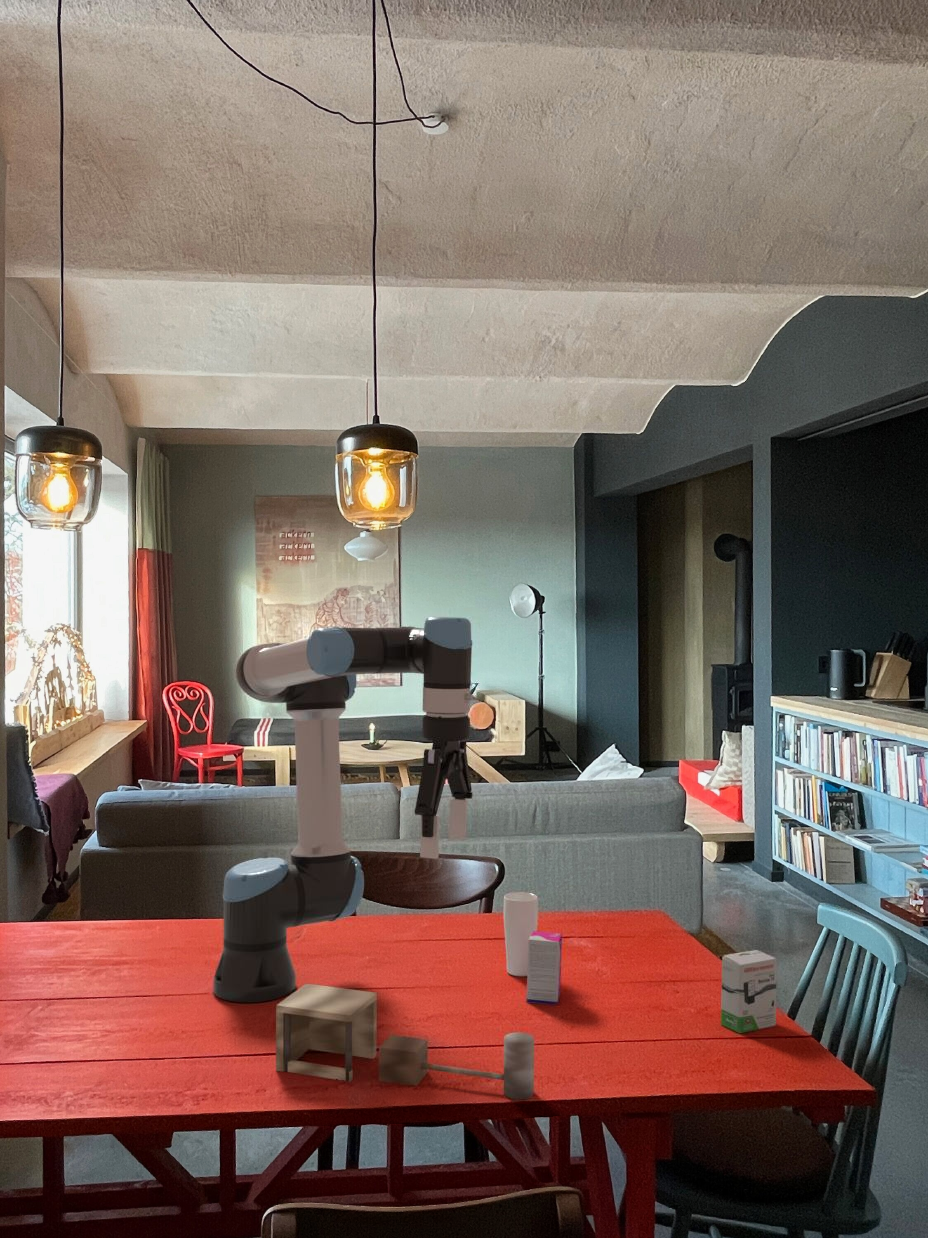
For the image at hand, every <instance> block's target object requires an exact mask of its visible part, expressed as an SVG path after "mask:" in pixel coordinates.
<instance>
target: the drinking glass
mask: <svg viewBox="0 0 928 1238" xmlns="http://www.w3.org/2000/svg"><path fill="white" fill-rule="evenodd" d="M538 898H539V897H538V896H537V895H536V894H534V893H530V892H523V891H522V892H519V891H517V892H509V893H506V894H505V895H504V896H503V926H504V927H503V928H504V929H503V931H504V941H505V955H506V971H507V973H508V974H509V975H511V976H514V977H527V975H528V943H529V938H530V936H531V933H532V932H533V931H537V930H538V920H539V903H538V901H539V899H538Z"/></svg>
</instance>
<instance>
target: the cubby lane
mask: <svg viewBox="0 0 928 1238" xmlns="http://www.w3.org/2000/svg"><path fill="white" fill-rule="evenodd" d="M377 995H378V993H377V992H374V991H366V990H365V991H364V990H358V989H350V988H344V987H336V986H326V985H319V984H311V983H305V984H304V985H302V986H301V987H300V988H299V989H297V990H295V991H294V992H292V993H290V995H289V996H286V998H284V999H283V1000H282V1001H280V1002H279V1003H277V1004H276V1005H275V1006H276V1007H275V1008H276V1010H275V1013H276V1014H275V1017H276V1019H275V1023H276V1024H275V1025H276V1026H275V1027H276V1028H275V1071H277V1072H285V1073H291V1074H292V1073H293V1074H300V1075H305V1076H313V1077H316V1078H317V1077H318V1078H324V1079H331V1080H336V1079H338V1080H337V1081H342V1080H344V1082H347V1083H348V1082H350V1083H351V1082H352V1081H353V1078H354V1074H353V1073H354V1072H353V1071H354V1070H353V1057H359V1058H366V1059H372V1060H374V1059H375V1058H376V1057H377V1028H378V1027H377V1022H378V1021H377V1019H378V1018H377V1011H378V1010H377V1009H378V1008H377V1005H378V1004H377V1003H378V1001H377V999H378V998H377V997H378V996H377ZM308 1050H313V1051H318V1052H319V1051H320V1052H327V1053H332V1054H341V1055H345V1057H344V1058H345V1059H344V1065H345V1066H344V1067H340V1066H339V1067H338V1066H331V1065H325V1064H319V1063H313V1062H306V1061H301V1060H298V1059H300V1057H302V1056H303V1055H305V1054H306V1053H307V1051H308Z"/></svg>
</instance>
